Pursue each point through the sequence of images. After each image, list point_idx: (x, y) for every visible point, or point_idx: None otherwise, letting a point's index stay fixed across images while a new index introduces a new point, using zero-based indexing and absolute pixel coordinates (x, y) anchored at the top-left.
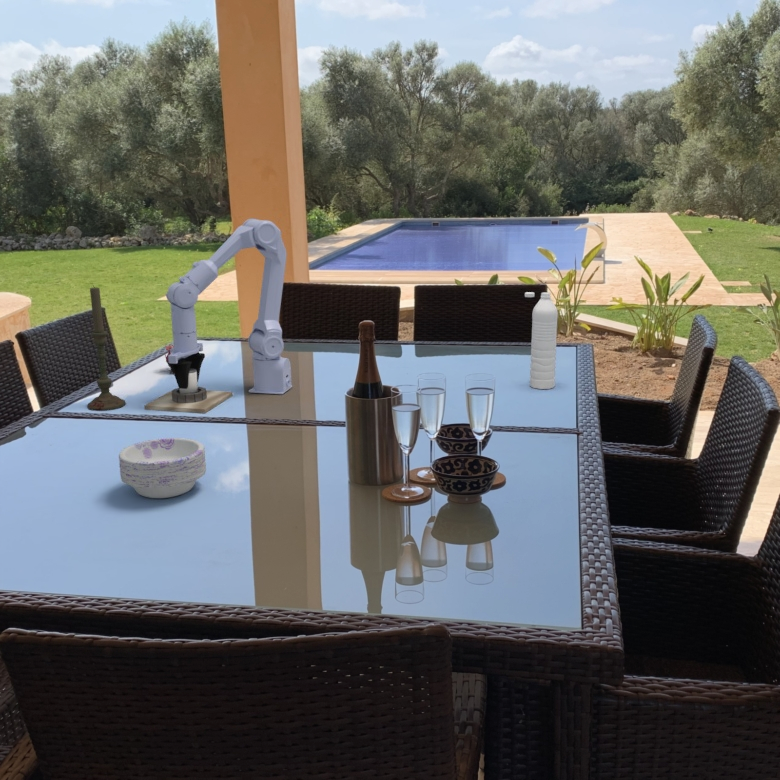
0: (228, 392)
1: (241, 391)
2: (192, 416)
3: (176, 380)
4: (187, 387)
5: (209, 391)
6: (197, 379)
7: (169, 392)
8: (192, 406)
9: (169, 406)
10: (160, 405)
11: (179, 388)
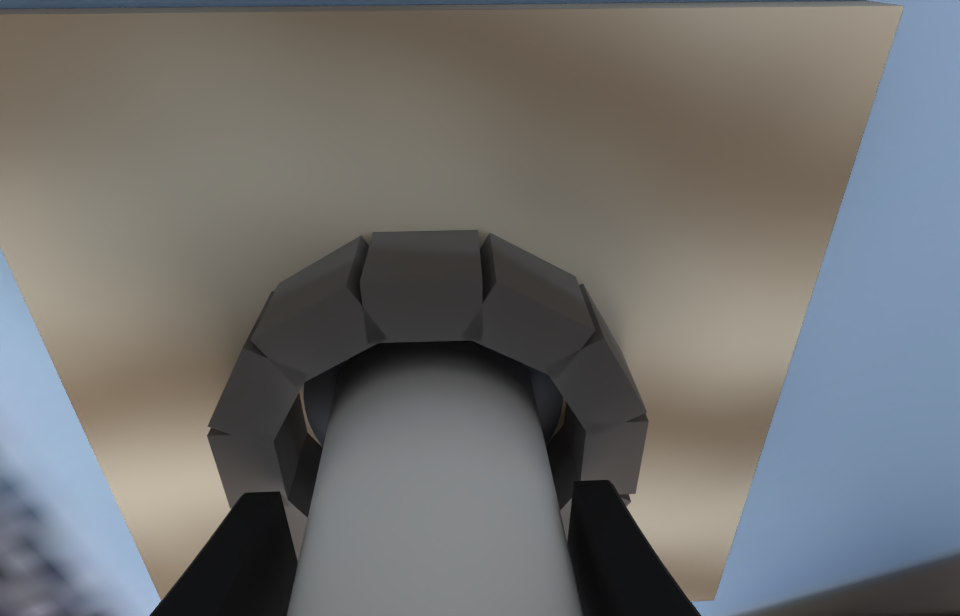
0: (690, 587)
1: (830, 576)
2: (67, 554)
3: (171, 591)
4: (290, 576)
5: (723, 457)
6: None
7: (662, 32)
8: (191, 530)
9: (70, 356)
10: (40, 244)
11: (365, 417)
